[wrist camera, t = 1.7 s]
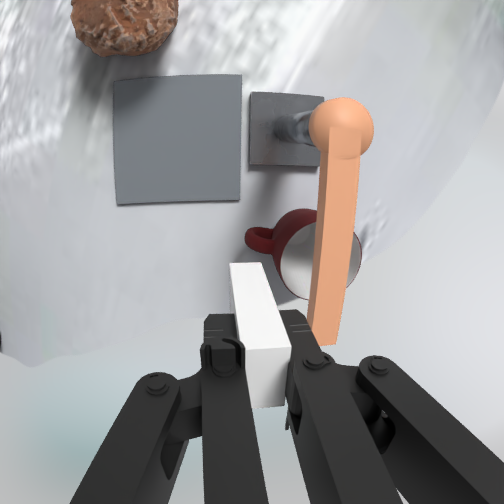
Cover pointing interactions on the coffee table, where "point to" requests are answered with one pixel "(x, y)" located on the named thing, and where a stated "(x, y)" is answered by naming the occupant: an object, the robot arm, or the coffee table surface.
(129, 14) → the decorative rock
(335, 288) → the ball-ended drumstick
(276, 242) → the mug
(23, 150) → the coffee table surface
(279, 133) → the clip post
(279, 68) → the coffee table surface
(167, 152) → the mat
